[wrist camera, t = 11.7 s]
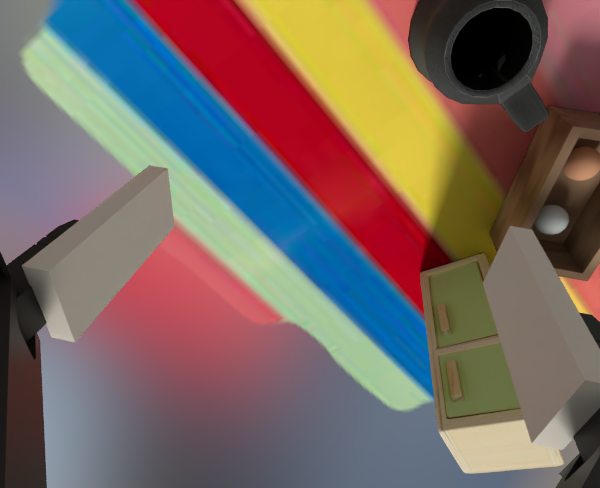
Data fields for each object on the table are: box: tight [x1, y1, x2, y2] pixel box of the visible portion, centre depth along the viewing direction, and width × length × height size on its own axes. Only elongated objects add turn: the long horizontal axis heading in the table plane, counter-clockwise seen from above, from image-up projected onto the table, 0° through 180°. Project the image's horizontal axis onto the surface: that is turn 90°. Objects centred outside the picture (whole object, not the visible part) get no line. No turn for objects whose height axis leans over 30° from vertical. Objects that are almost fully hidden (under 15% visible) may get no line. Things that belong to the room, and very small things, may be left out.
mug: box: [408, 0, 549, 132], centre depth 29 cm, size 12×9×11 cm
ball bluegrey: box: [534, 205, 569, 235], centre depth 39 cm, size 3×3×3 cm
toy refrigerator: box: [420, 253, 564, 473], centre depth 39 cm, size 8×7×21 cm
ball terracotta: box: [562, 147, 600, 180], centre depth 35 cm, size 3×3×3 cm
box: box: [490, 106, 600, 281], centre depth 36 cm, size 14×8×6 cm, turn 175°
